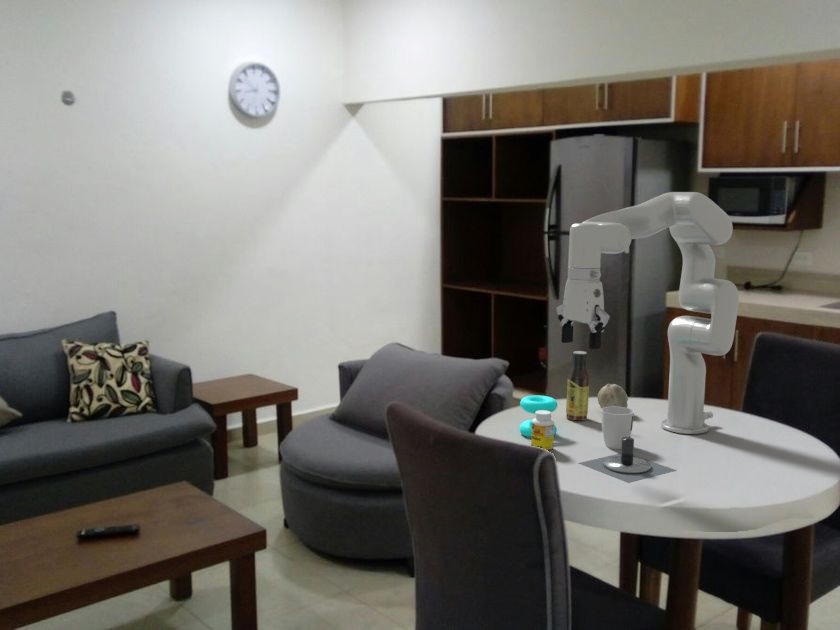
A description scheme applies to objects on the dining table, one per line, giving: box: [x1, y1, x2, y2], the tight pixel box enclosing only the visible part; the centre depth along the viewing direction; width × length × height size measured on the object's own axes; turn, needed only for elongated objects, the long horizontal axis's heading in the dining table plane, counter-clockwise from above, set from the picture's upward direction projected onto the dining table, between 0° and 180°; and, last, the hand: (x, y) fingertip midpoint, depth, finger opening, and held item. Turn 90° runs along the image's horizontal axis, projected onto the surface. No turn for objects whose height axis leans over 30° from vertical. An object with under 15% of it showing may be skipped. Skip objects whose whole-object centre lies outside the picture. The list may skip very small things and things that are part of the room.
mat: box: [578, 453, 677, 484], centre depth 195 cm, size 16×16×1 cm
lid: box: [603, 436, 651, 474], centre depth 195 cm, size 11×11×7 cm
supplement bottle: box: [530, 410, 555, 453], centre depth 208 cm, size 6×6×10 cm
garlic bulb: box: [597, 383, 629, 409], centre depth 245 cm, size 9×8×10 cm
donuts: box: [519, 394, 558, 438], centre depth 222 cm, size 10×10×10 cm
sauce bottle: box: [565, 350, 590, 422], centre depth 237 cm, size 6×6×20 cm
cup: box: [600, 407, 635, 450], centre depth 211 cm, size 8×8×10 cm
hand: (580, 345), depth 199 cm, fingers open, 9 cm apart
